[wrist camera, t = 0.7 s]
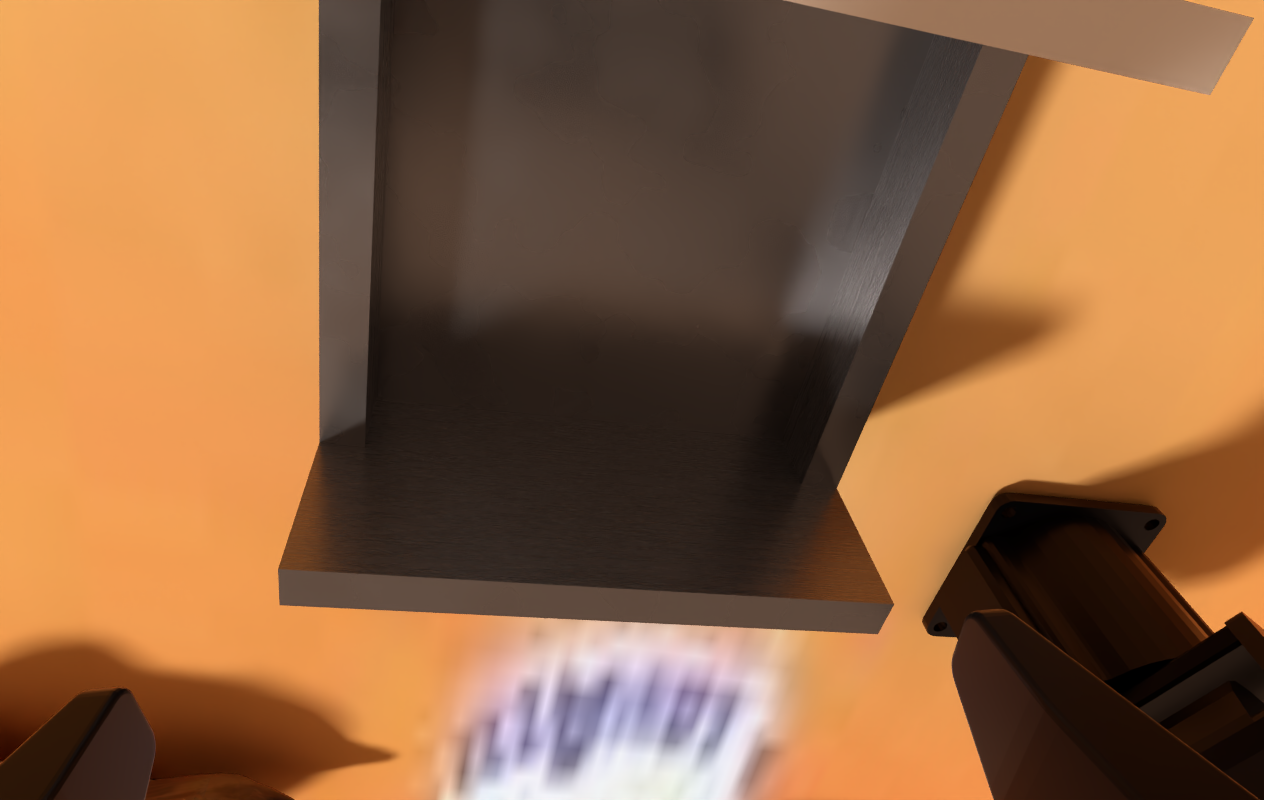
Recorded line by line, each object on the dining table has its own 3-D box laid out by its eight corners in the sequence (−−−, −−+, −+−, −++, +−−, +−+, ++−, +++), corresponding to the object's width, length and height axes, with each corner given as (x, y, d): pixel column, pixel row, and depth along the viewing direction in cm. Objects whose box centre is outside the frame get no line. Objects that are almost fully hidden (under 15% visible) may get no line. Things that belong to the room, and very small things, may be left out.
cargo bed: (820, 451, 25) (912, 635, 19) (306, 400, 22) (230, 602, 16) (1026, -43, 18) (1274, 14, 12) (298, -225, 14) (155, -267, 9)
